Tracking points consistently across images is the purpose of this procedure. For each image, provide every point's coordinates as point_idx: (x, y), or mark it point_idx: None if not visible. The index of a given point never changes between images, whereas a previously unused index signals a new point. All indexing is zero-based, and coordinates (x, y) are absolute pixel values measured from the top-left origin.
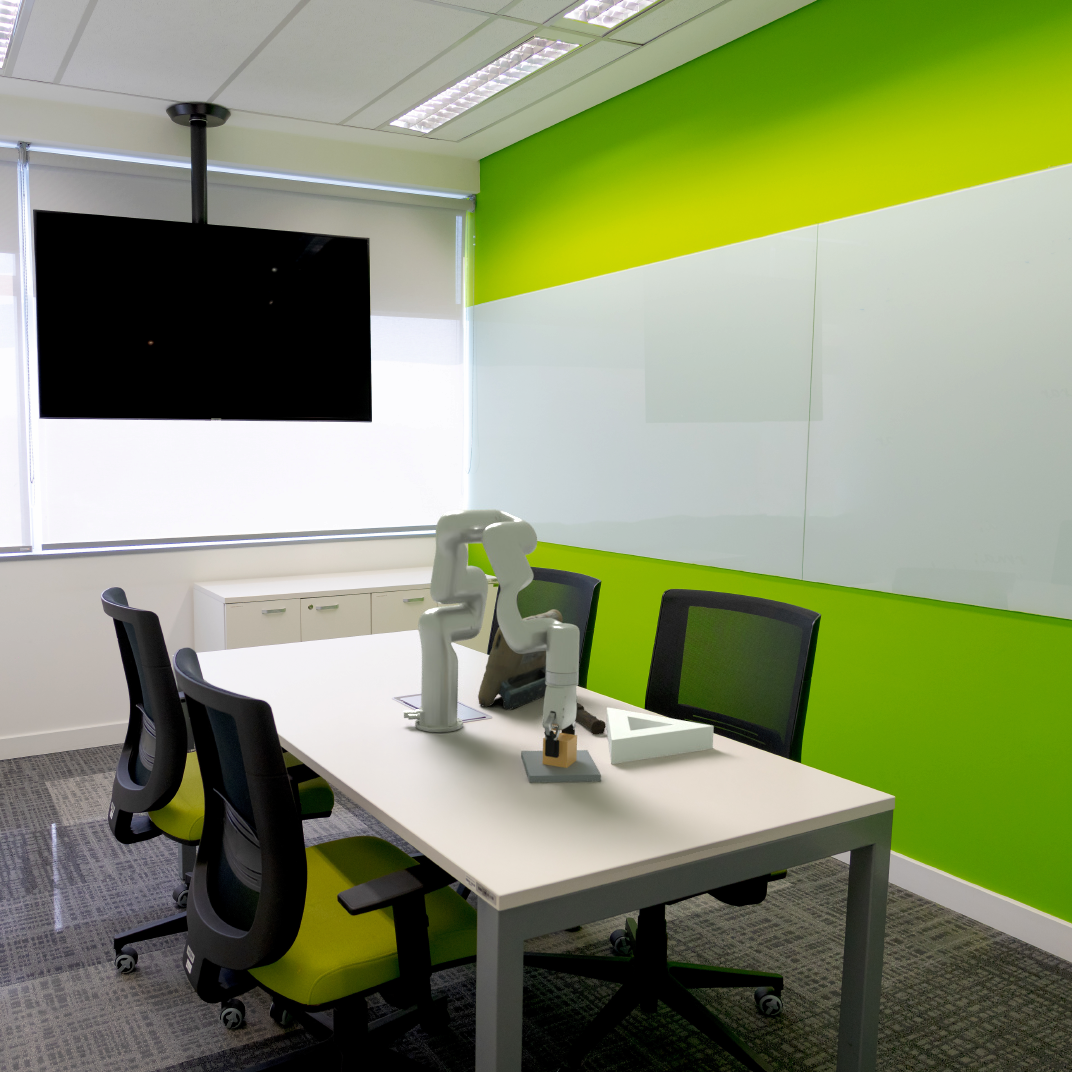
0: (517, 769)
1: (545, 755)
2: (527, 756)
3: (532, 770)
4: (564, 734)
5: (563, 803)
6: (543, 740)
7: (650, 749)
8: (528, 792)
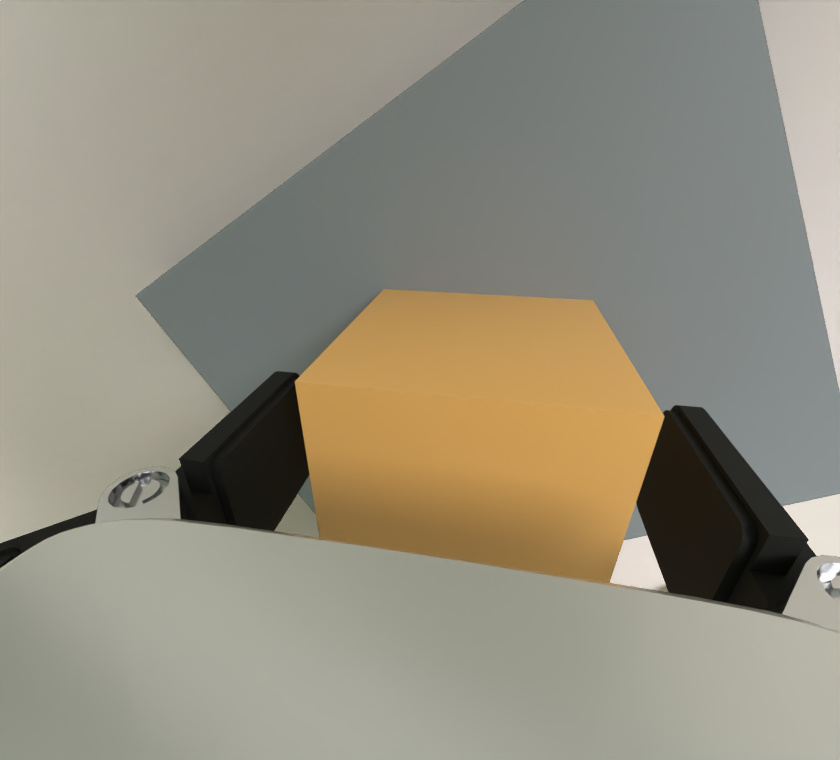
0: (323, 81)
1: (279, 372)
2: (523, 64)
3: (222, 275)
4: (574, 551)
5: (89, 488)
6: (308, 373)
7: None
8: (62, 332)
